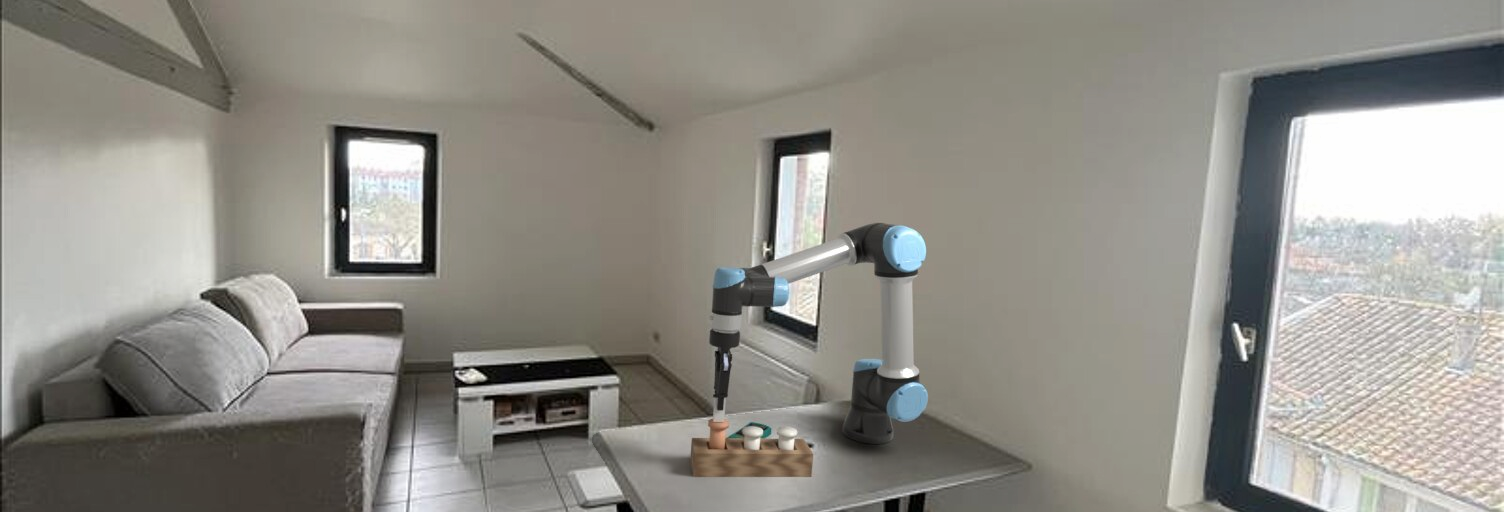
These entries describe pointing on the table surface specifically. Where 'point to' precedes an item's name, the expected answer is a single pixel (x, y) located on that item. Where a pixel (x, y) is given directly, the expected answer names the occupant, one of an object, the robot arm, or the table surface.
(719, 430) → the plug terracotta
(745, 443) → the plug mid
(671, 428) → the table surface
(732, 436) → the digital multimeter
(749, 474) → the board
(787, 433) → the plug near
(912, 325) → the robot arm
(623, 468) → the table surface
